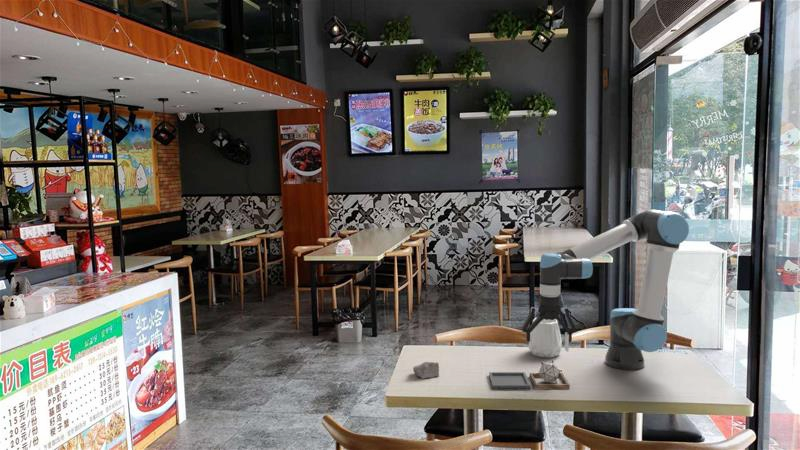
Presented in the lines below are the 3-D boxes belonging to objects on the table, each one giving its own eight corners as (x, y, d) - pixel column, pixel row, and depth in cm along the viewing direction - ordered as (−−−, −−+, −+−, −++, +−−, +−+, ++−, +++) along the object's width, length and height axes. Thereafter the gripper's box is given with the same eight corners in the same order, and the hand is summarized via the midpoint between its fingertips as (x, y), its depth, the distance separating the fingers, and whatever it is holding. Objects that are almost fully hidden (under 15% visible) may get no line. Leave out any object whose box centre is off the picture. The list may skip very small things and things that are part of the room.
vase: (529, 358, 258) (529, 323, 256) (527, 348, 271) (528, 315, 270) (563, 359, 255) (563, 324, 254) (560, 349, 269) (560, 316, 267)
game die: (553, 393, 229) (562, 378, 222) (532, 384, 230) (540, 369, 223) (557, 375, 235) (566, 360, 229) (536, 366, 237) (544, 351, 230)
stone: (436, 371, 244) (436, 357, 243) (440, 378, 236) (440, 364, 235) (412, 373, 243) (412, 359, 242) (415, 380, 235) (415, 366, 234)
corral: (562, 376, 236) (562, 372, 236) (569, 388, 223) (569, 384, 223) (529, 376, 236) (529, 372, 236) (535, 388, 224) (535, 384, 224)
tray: (524, 375, 237) (524, 372, 237) (531, 389, 223) (531, 385, 223) (489, 375, 238) (489, 372, 238) (492, 389, 224) (492, 385, 224)
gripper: (581, 293, 229) (579, 347, 232) (514, 292, 230) (513, 346, 233) (586, 297, 222) (584, 353, 224) (517, 296, 223) (516, 352, 225)
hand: (548, 350), depth 228 cm, fingers open, 13 cm apart
